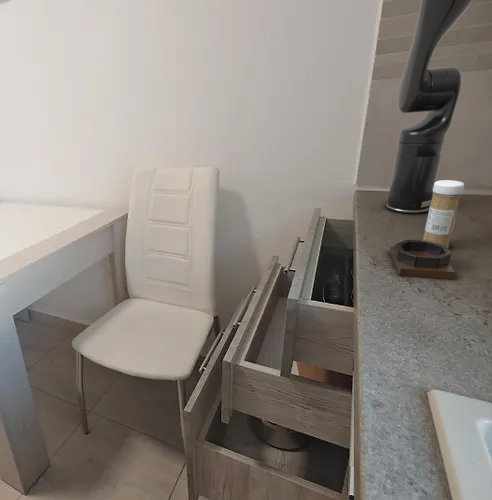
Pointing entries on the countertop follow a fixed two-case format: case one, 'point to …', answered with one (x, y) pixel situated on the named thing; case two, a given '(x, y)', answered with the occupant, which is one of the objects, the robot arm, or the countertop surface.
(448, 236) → the sprinkles bottle
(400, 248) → the base pad
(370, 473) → the countertop surface
